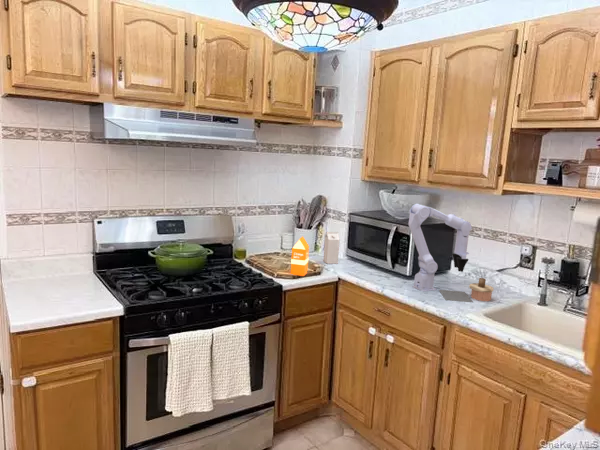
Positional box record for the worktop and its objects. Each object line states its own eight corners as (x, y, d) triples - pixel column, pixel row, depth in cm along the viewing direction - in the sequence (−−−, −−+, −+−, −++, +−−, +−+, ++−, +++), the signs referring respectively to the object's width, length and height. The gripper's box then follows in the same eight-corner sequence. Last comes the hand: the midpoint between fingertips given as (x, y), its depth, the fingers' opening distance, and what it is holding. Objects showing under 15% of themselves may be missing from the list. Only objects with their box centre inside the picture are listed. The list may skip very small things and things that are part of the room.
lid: (483, 293, 210) (484, 283, 209) (464, 286, 219) (465, 276, 218) (498, 290, 216) (499, 280, 215) (479, 284, 225) (480, 274, 224)
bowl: (482, 302, 212) (483, 292, 211) (467, 296, 220) (468, 287, 219) (494, 300, 217) (496, 290, 216) (479, 294, 224) (480, 285, 223)
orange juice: (290, 274, 242) (292, 238, 239) (294, 270, 251) (296, 235, 247) (304, 276, 240) (306, 239, 237) (307, 271, 249) (310, 236, 246)
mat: (445, 300, 212) (445, 300, 212) (438, 290, 228) (438, 289, 228) (473, 303, 211) (473, 302, 211) (464, 292, 227) (464, 291, 226)
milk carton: (323, 261, 275) (325, 230, 272) (334, 260, 277) (336, 230, 273) (326, 264, 268) (328, 233, 265) (337, 263, 270) (340, 233, 267)
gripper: (473, 247, 221) (470, 273, 223) (465, 241, 235) (462, 266, 237) (459, 246, 221) (456, 272, 224) (452, 240, 236) (449, 265, 238)
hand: (458, 269), depth 231 cm, fingers open, 7 cm apart
